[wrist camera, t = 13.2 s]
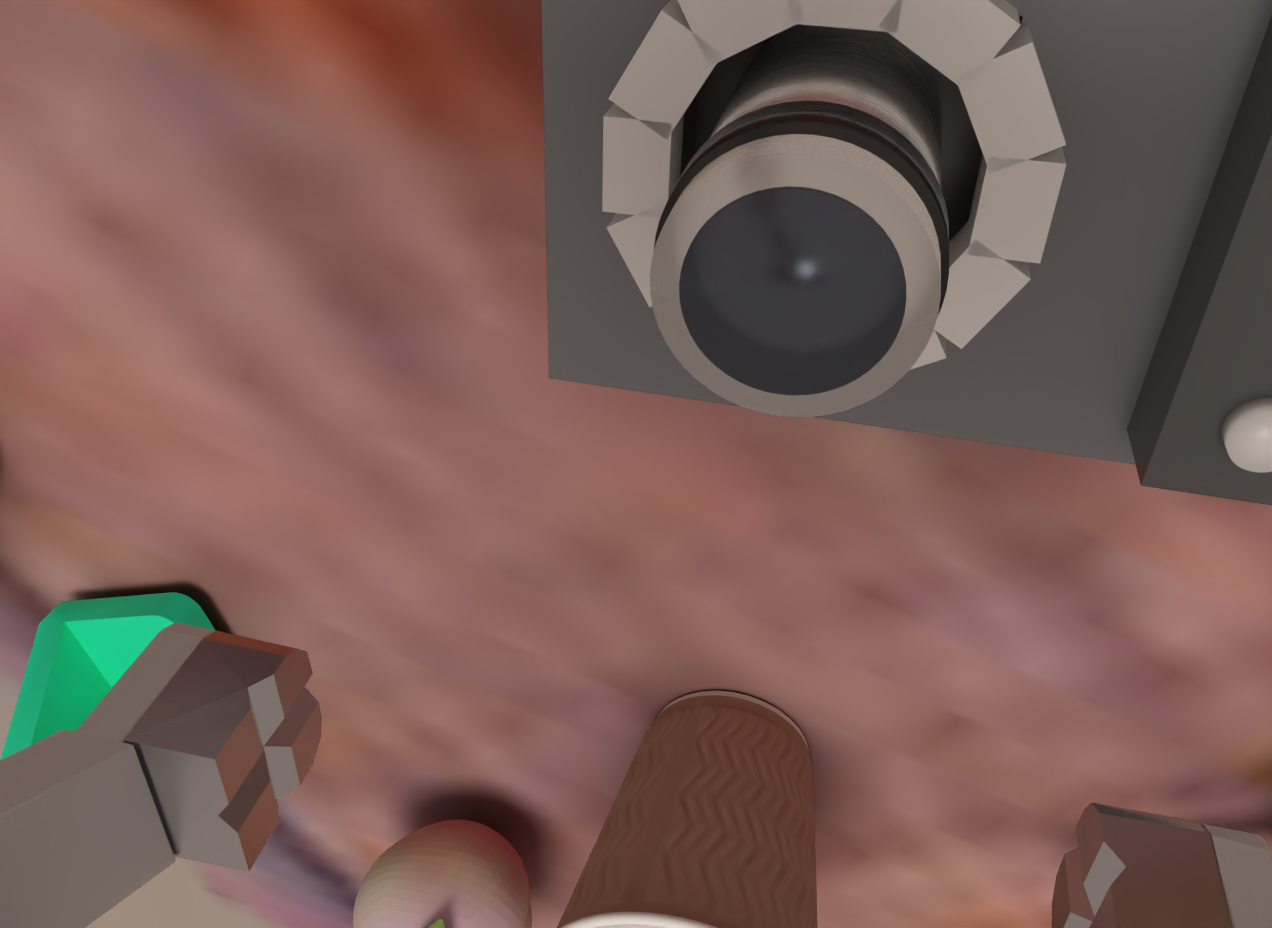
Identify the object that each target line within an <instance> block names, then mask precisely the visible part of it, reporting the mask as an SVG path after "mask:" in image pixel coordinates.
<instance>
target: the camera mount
mask: <svg viewBox="0 0 1272 928" xmlns="http://www.w3.org/2000/svg"><path fill="white" fill-rule="evenodd" d="M175 622H176V623H181V624H186V625H190V626H195V627H200V628H205V629H209V630H214V631H216V630H215V629H214V627H213V626H212V624H211V622H210V621H209V619H208V618H207V616H206V614H205V613H204V611H203V610H202V608H201V607H200V606H199V604H198V603H196V602H195V601H194V600H193V599H191V598H190V597H188V596H186V595H184V594H181V593H176V592H170V593H158V594H146V595H134V596H122V597H110V598H98V599H86V600H74V601H62V602H60V603H59V604H58V605H57V606H56V607H55V608H54V609H53V610H52V611H51V612H50V613H49V614H48V615H47V616H46V617H45V618H44V619H43V620H42V621H41V622H40V623H39V626H38V630H37V633H36V637H35V640H34V644H33V647H32V651H31V655H30V658H29V662H28V665H27V669H26V672H25V676H24V679H23V683H22V686H21V690H20V693H19V697H18V700H17V704H16V707H15V711H14V714H13V718H12V722H11V725H10V729H9V732H8V735H7V739H6V743H5V746H4V749H3V753H2V756H1V760H2V759H4V758H6V757H8V756H10V755H12V754H14V753H16V752H18V751H20V750H22V749H24V748H26V747H28V746H30V745H32V744H35V743H37V742H39V741H41V740H43V739H45V738H47V737H49V736H51V735H53V734H55V733H57V732H59V731H61V730H69V731H74V732H75V731H76V730H77V729H78V728H79V727H80V725H81V724H82V723H83V722H84V721H85V719H86V718H87V717H88V716H89V715H90V714H91V712H92V711H93V710H94V709H95V708H96V706H97V705H98V704H99V703H100V702H101V700H102V699H103V698H104V697H105V696H106V695H107V693H108V692H109V691H110V690H111V689H112V687H113V686H114V685H115V684H116V683H117V681H118V680H119V679H120V678H121V677H122V676H123V674H124V673H125V672H126V671H127V670H128V668H129V667H130V666H131V665H132V664H133V663H134V661H135V660H136V659H137V658H138V657H139V655H140V654H141V653H142V652H143V651H144V649H145V648H146V647H147V646H148V645H149V644H150V642H151V641H152V640H153V639H154V638H155V636H156V635H157V634H158V633H159V632H160V631H161V630H162V629H164V628H166V627H168V626H170V625H172V624H174V623H175ZM280 798H281V797H280Z"/></svg>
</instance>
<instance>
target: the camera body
mask: <svg viewBox="0 0 1272 928" xmlns="http://www.w3.org/2000/svg"><path fill="white" fill-rule="evenodd" d="M541 2H542V52H543V102H544V151H545V201H546V251H547V301H548V350H549V378H551V379H558V380H565V381H572V382H579V383H585V384H592V385H599V386H606V387H613V388H619V389H626V390H633V391H640V392H647V393H653V394H660V395H667V396H674V397H681V398H687V399H694V400H701V401H708V402H715V403H721V404H728V405H735V406H739V405H737V404H735V403H732V402H730V401H728V400H726V399H724V398H722V397H721V396H719V395H717V394H716V393H714V392H712V391H711V390H709V389H708V388H707V387H705V386H704V385H703V384H701V383H700V382H699V381H697V380H696V379H695V378H694V377H693V376H692V375H691V374H690V373H689V372H688V371H687V370H686V369H685V368H684V367H683V366H682V364H681V363H680V362H679V361H678V359H677V358H676V357H675V356H674V354H673V353H672V351H671V350H670V348H669V346H668V345H667V343H666V342H665V340H664V337H663V335H662V333H661V331H660V329H659V327H658V324H657V321H656V318H655V314H654V311H653V306H652V300H651V295H650V270H651V261H652V257H653V252H654V243H655V236H656V232H657V228H658V224H659V220H660V218H661V215H662V213H663V210H664V208H665V205H666V203H667V201H668V199H669V197H670V196H671V194H672V192H673V190H674V188H675V186H676V185H677V183H678V181H679V179H680V177H681V175H682V174H683V172H684V170H685V169H686V167H687V165H688V163H689V162H690V160H691V159H692V158H693V156H694V155H695V154H696V152H697V151H698V150H699V149H700V147H701V146H702V145H703V144H704V143H705V142H706V141H707V140H708V139H709V138H710V136H711V134H712V132H713V130H714V128H715V126H716V124H717V123H718V121H719V119H720V117H721V115H722V113H723V111H724V109H725V107H726V105H727V103H728V102H729V100H730V98H731V96H732V94H733V92H734V90H735V88H736V86H737V84H738V82H739V81H740V79H741V77H742V75H743V73H744V71H745V70H746V68H747V66H748V65H749V63H750V62H751V60H752V59H753V58H754V56H755V55H756V54H757V53H758V51H759V50H760V49H761V48H762V47H763V46H765V45H766V44H767V43H768V42H769V41H770V40H771V39H773V38H774V37H775V36H776V35H778V34H779V33H781V32H782V31H784V30H786V29H788V28H789V27H792V26H794V25H796V24H802V25H813V26H825V27H837V28H848V29H860V30H871V31H883V32H888V33H889V34H890V35H892V36H893V37H894V38H896V39H897V40H898V41H900V42H901V43H902V44H904V45H905V46H906V47H908V48H909V49H910V50H912V51H913V52H914V53H916V54H917V55H918V56H920V57H921V58H922V59H924V60H925V61H926V62H927V64H928V65H929V67H930V69H931V71H932V73H933V75H934V77H935V80H936V83H937V86H938V90H939V93H940V99H941V106H942V182H941V190H942V193H943V197H944V200H945V203H946V208H947V214H948V221H949V277H948V285H947V291H946V295H945V298H944V301H943V305H942V308H941V310H940V313H939V315H938V317H937V320H936V323H935V327H934V330H933V333H932V335H931V337H930V339H929V341H928V344H927V346H926V347H925V349H924V351H923V352H922V354H921V355H920V357H919V358H918V360H917V361H916V363H915V364H914V365H913V366H912V367H911V368H910V370H909V371H908V372H907V373H906V374H905V375H904V376H903V377H902V378H901V379H900V380H899V381H898V382H896V383H895V384H894V385H893V386H892V387H890V388H889V389H887V390H886V391H885V392H883V393H882V394H880V395H879V396H877V397H875V398H873V399H871V400H869V401H868V402H866V403H864V404H861V405H859V406H856V407H854V408H851V409H848V410H845V411H841V412H837V413H833V414H829V415H822V416H815V417H817V418H823V419H830V420H837V421H844V422H851V423H857V424H864V425H871V426H878V427H885V428H891V429H898V430H905V431H912V432H919V433H925V434H932V435H939V436H946V437H953V438H959V439H966V440H973V441H980V442H987V443H993V444H1000V445H1007V446H1014V447H1021V448H1027V449H1034V450H1041V451H1048V452H1055V453H1061V454H1068V455H1075V456H1082V457H1089V458H1095V459H1102V460H1109V461H1116V462H1123V463H1129V464H1136V468H1137V472H1138V476H1139V480H1140V484H1141V486H1147V487H1154V488H1161V489H1167V490H1174V491H1181V492H1187V493H1194V494H1201V495H1207V496H1214V497H1221V498H1227V499H1234V500H1241V501H1247V502H1254V503H1260V504H1267V505H1272V0H541Z"/></svg>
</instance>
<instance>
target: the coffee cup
mask: <svg viewBox="0 0 1272 928" xmlns="http://www.w3.org/2000/svg"><path fill="white" fill-rule="evenodd" d="M557 928H817V892H816V853H815V810H814V775H813V770H812V767H811V760H810V754H809V748H808V745H807V741H806V739H805V737H804V736H803V734H802V732H801V731H800V729H799V728H798V727H797V726H796V725H795V723H794V722H793V721H792V720H791V719H790V718H789V717H787V716H786V715H785V714H784V713H782V712H781V711H780V710H778V709H777V708H775V707H773V706H771V705H769V704H768V703H766V702H764V701H761V700H759V699H756V698H754V697H751V696H748V695H744V694H740V693H735V692H727V691H702V692H697V693H692V694H688V695H685V696H683V697H680V698H678V699H676V700H674V701H673V702H671V703H670V704H668V705H667V706H666V707H665V708H664V709H663V710H662V711H661V712H660V713H659V715H658V717H657V718H656V720H655V721H654V723H653V725H652V726H651V728H650V730H649V731H647V732H646V734H645V737H644V739H643V740H642V742H641V745H640V747H639V749H638V751H637V753H636V756H635V758H634V760H633V762H632V764H631V766H630V769H629V771H628V773H627V775H626V777H625V780H624V782H623V785H622V787H621V789H620V791H619V793H618V795H617V797H616V799H615V802H614V804H613V806H612V808H611V810H610V813H609V815H608V817H607V819H606V821H605V823H604V826H603V828H602V830H601V832H600V835H599V837H598V839H597V842H596V844H595V846H594V848H593V850H592V852H591V854H590V856H589V859H588V861H587V863H586V865H585V868H584V870H583V872H582V874H581V876H580V878H579V880H578V883H577V885H576V887H575V889H574V891H573V894H572V896H571V898H570V901H569V903H568V905H567V907H566V909H565V911H564V913H563V916H562V918H561V920H560V922H559V924H558V927H557Z"/></svg>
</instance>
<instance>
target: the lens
mask: <svg viewBox="0 0 1272 928" xmlns="http://www.w3.org/2000/svg"><path fill="white" fill-rule="evenodd" d="M941 182H942V106H941V99H940V93H939V90H938V86H937V83H936V80H935V77H934V75H933V73H932V71H931V69H930V67H929V65H928V64H927V62H926V61H925V60H924V59H922V58H921V57H920V56H918V55H917V54H916V53H914V52H913V51H912V50H910V49H909V48H908V47H906V46H905V45H904V44H902V43H901V42H900V41H898V40H897V39H896V38H894V37H893V36H892V35H890V34H889V33H888V32H883V31H871V30H860V29H848V28H837V27H825V26H813V25H802V24H796V25H794V26H792V27H789V28H788V29H786V30H784V31H782V32H781V33H779V34H778V35H776V36H775V37H774V38H773V39H771V40H770V41H769V42H768V43H767V44H766V45H765V46H763V47H762V48H761V49H760V50H759V51H758V53H757V54H756V55H755V56H754V58H753V59H752V60H751V62H750V63H749V65H748V66H747V68H746V70H745V71H744V73H743V75H742V77H741V79H740V81H739V82H738V84H737V86H736V88H735V90H734V92H733V94H732V96H731V98H730V100H729V102H728V103H727V105H726V107H725V109H724V111H723V113H722V115H721V117H720V119H719V121H718V123H717V124H716V126H715V128H714V130H713V132H712V134H711V136H710V138H709V139H708V140H707V141H706V142H705V143H704V144H703V145H702V146H701V147H700V149H699V150H698V151H697V152H696V154H695V155H694V156H693V158H692V159H691V160H690V162H689V163H688V165H687V167H686V169H685V170H684V172H683V174H682V175H681V177H680V179H679V181H678V183H677V185H676V186H675V188H674V190H673V192H672V194H671V196H670V197H669V199H668V201H667V203H666V205H665V208H664V210H663V213H662V215H661V218H660V220H659V224H658V228H657V232H656V236H655V243H654V252H653V257H652V261H651V270H650V295H651V300H652V306H653V311H654V314H655V318H656V321H657V324H658V327H659V329H660V331H661V333H662V335H663V337H664V340H665V342H666V343H667V345H668V346H669V348H670V350H671V351H672V353H673V354H674V356H675V357H676V358H677V359H678V361H679V362H680V363H681V364H682V366H683V367H684V368H685V369H686V370H687V371H688V372H689V373H690V374H691V375H692V376H693V377H694V378H695V379H696V380H697V381H699V382H700V383H701V384H703V385H704V386H705V387H707V388H708V389H709V390H711V391H712V392H714V393H716V394H717V395H719V396H721V397H722V398H724V399H726V400H728V401H730V402H732V403H735V404H737V405H739V406H741V407H744V408H747V409H750V410H754V411H757V412H760V413H765V414H770V415H775V416H785V417H815V416H822V415H829V414H833V413H837V412H841V411H845V410H848V409H851V408H854V407H856V406H859V405H861V404H864V403H866V402H868V401H869V400H871V399H873V398H875V397H877V396H879V395H880V394H882V393H883V392H885V391H886V390H887V389H889V388H890V387H892V386H893V385H894V384H895V383H896V382H898V381H899V380H900V379H901V378H902V377H903V376H904V375H905V374H906V373H907V372H908V371H909V370H910V368H911V367H912V366H913V365H914V364H915V363H916V361H917V360H918V358H919V357H920V355H921V354H922V352H923V351H924V349H925V347H926V346H927V344H928V341H929V339H930V337H931V335H932V333H933V330H934V327H935V323H936V320H937V317H938V315H939V313H940V310H941V308H942V305H943V301H944V298H945V295H946V291H947V285H948V277H949V221H948V214H947V208H946V203H945V200H944V197H943V193H942V190H941Z"/></svg>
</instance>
